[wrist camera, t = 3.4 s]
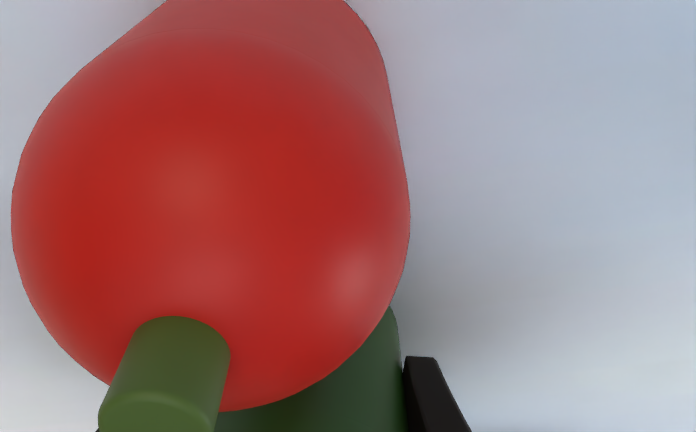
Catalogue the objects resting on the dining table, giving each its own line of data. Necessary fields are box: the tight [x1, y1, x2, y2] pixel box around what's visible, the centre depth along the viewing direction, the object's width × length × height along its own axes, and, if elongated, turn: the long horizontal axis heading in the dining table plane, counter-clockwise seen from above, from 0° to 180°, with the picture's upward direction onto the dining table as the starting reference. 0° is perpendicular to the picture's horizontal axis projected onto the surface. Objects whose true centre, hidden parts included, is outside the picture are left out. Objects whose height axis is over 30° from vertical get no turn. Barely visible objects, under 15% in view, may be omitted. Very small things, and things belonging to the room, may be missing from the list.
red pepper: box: [11, 0, 410, 432], centre depth 7 cm, size 5×5×7 cm
